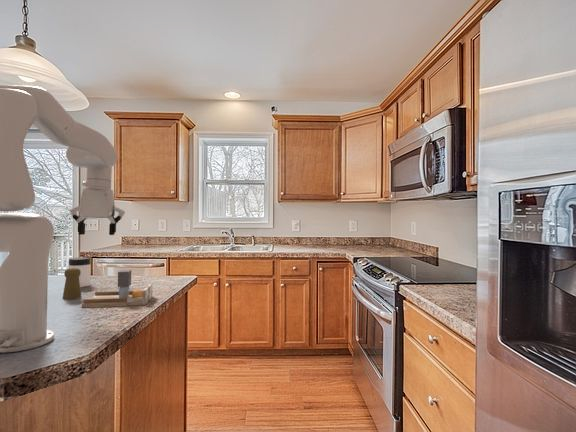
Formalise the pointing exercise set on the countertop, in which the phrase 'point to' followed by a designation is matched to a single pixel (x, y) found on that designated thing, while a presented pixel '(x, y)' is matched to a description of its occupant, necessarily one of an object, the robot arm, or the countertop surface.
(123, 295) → the grey stepped block
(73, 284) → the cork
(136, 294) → the ball
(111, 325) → the countertop surface
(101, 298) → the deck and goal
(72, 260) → the jar
